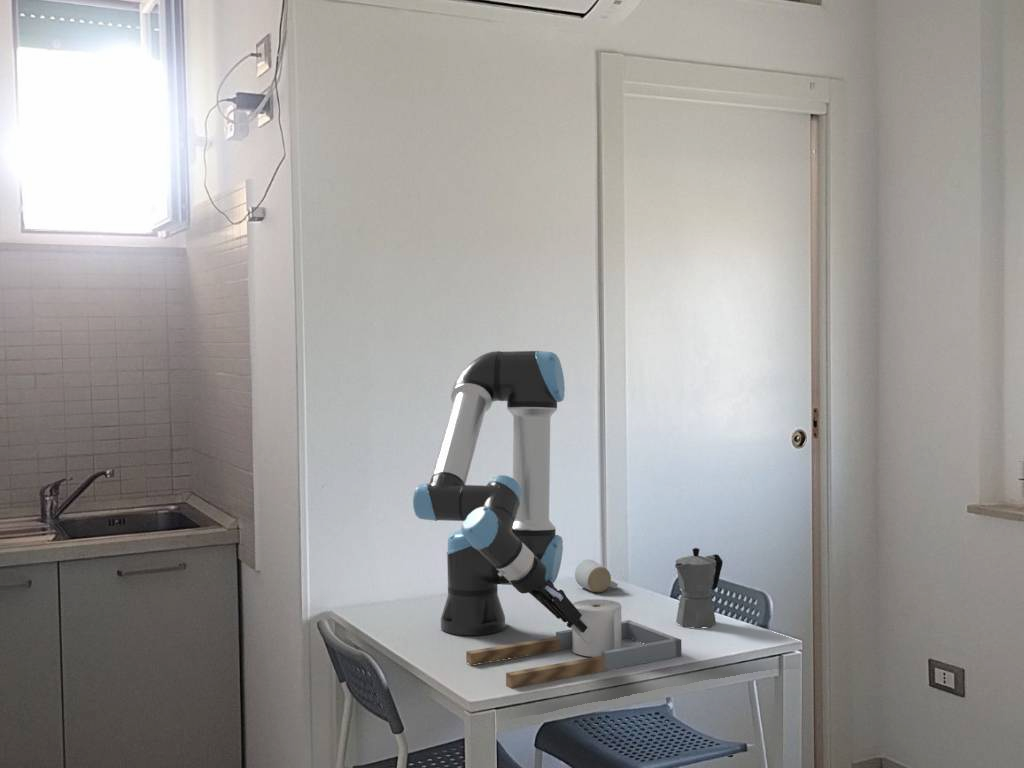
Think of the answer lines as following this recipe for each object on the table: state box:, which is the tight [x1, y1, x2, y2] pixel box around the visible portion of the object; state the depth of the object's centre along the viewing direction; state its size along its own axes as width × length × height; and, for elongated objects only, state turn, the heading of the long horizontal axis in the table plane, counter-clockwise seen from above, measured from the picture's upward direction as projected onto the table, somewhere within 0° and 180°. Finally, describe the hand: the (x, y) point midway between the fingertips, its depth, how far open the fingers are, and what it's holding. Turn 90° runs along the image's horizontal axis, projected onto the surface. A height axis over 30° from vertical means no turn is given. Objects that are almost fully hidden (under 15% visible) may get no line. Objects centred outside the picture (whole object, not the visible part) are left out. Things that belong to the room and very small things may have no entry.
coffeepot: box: [674, 547, 723, 628], centre depth 261 cm, size 15×9×18 cm, turn 127°
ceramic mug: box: [574, 559, 619, 593], centre depth 297 cm, size 11×8×8 cm
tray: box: [555, 619, 682, 671], centre depth 238 cm, size 20×19×4 cm
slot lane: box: [465, 636, 606, 689], centre depth 228 cm, size 22×19×2 cm
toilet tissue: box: [571, 598, 623, 658], centre depth 239 cm, size 11×12×10 cm
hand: (590, 638), depth 234 cm, fingers closed
